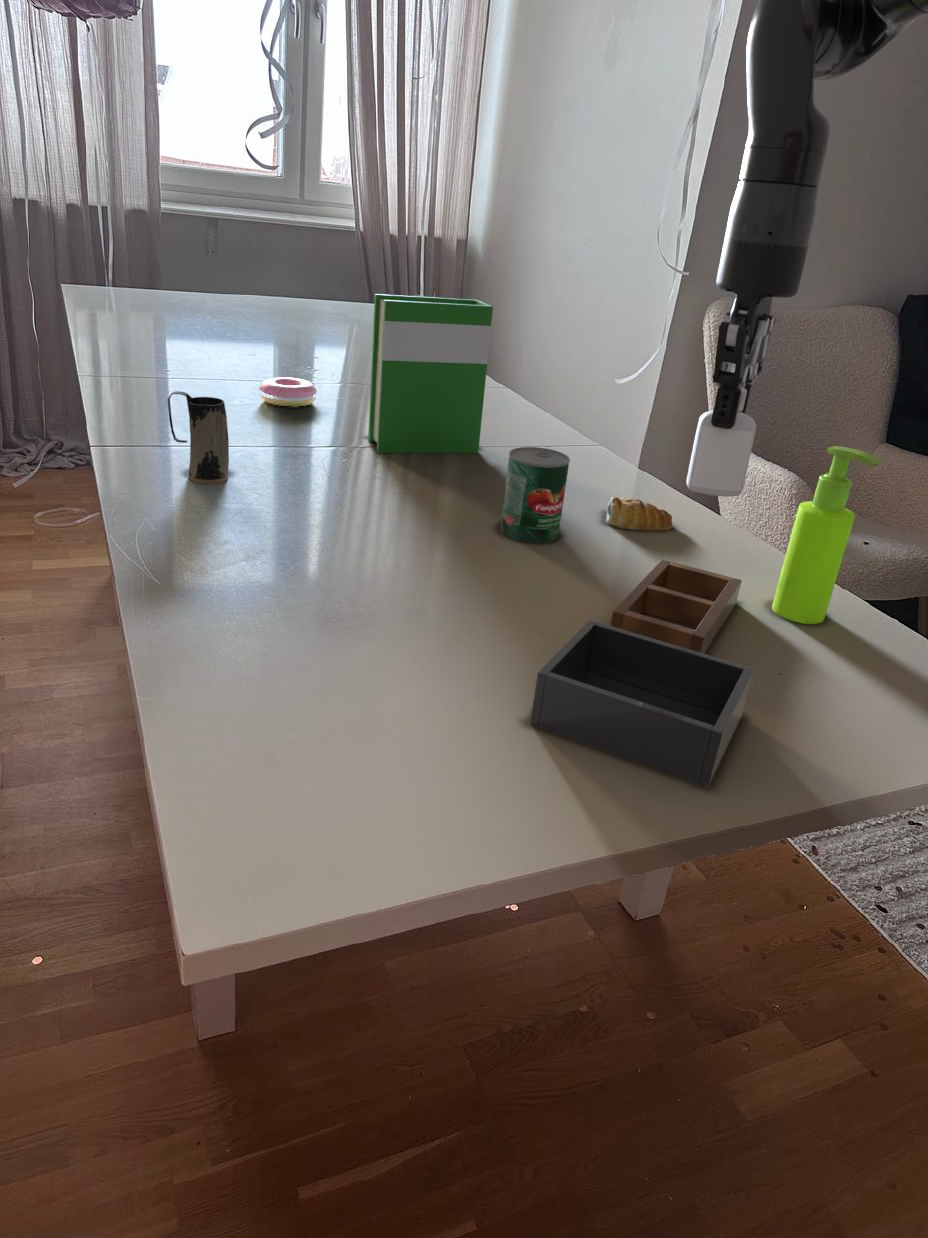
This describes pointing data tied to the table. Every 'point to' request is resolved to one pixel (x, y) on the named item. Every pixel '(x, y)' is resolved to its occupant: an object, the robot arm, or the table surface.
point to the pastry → (637, 515)
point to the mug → (206, 439)
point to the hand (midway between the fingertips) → (727, 422)
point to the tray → (678, 605)
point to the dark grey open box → (643, 699)
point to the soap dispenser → (818, 543)
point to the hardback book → (428, 373)
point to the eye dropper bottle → (721, 455)
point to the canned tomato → (534, 494)
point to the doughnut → (288, 391)
